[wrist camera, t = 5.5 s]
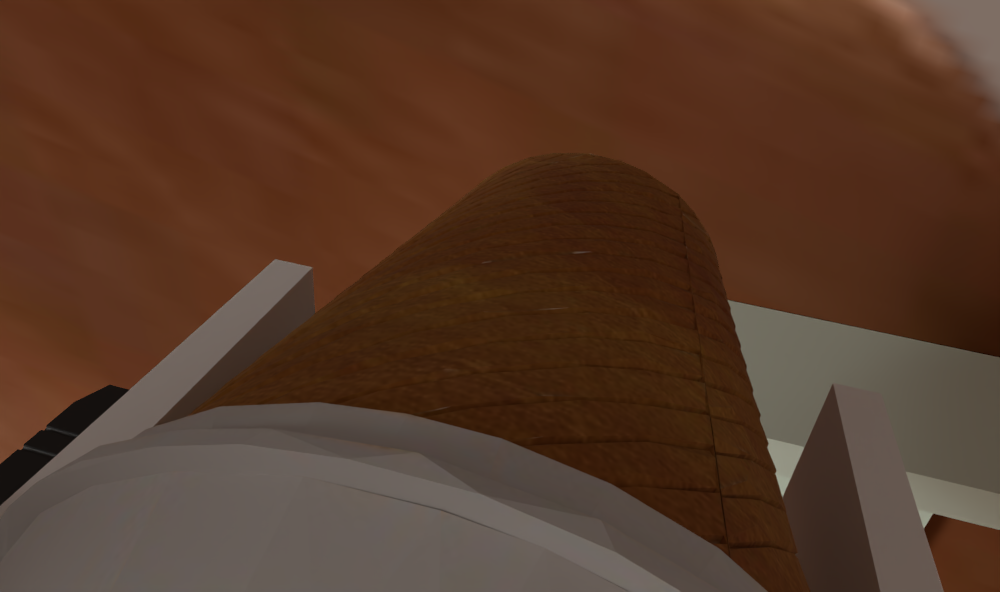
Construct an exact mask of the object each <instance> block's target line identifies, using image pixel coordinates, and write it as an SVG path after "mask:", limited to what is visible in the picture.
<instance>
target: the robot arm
mask: <svg viewBox="0 0 1000 592" xmlns="http://www.w3.org/2000/svg"><path fill="white" fill-rule="evenodd" d="M314 314H315V305H314V287H313V269H312V267H308V266H303V265H299V264H294V263H290V262H285V261H281V260H276V259H275V260H274V261H273V262H272V263H271V264H269V265H268V266H267V267H266V268H265V269H264V270H263V271H262V272H261V273H259V274H258V275H257V276H256V277H255V278H254V279H253V280H252V281H250V282H249V283H248V284H247V285H246V286H245V287H244V288H243V289H242V290H240V291H239V292H238V293H237V294H236V295H235V296H234V297H233V298H232V299H230V300H229V301H228V302H227V303H226V304H225V305H224V306H223V307H221V308H220V309H219V310H218V311H217V312H216V313H215V314H214V315H213V316H211V317H210V318H209V319H208V320H207V321H206V322H205V323H204V324H202V325H201V326H200V327H199V328H198V329H197V330H196V331H195V332H194V333H192V334H191V335H190V336H189V337H188V338H187V339H186V340H185V341H184V342H182V343H181V344H180V345H179V346H178V347H177V348H176V349H175V350H173V351H172V352H171V353H170V354H169V355H168V356H167V357H166V358H165V359H163V360H162V361H161V362H160V363H159V364H158V365H157V366H156V367H155V368H153V369H152V370H151V371H150V372H149V373H148V374H147V375H146V376H144V377H143V378H142V379H141V380H140V381H139V382H138V383H137V384H136V385H134V386H133V387H132V388H131V389H130V390H128V389H124V388H120V387H116V386H112V385H108V386H106V387H104V388H102V389H100V390H98V391H96V392H94V393H92V394H90V395H88V396H86V397H84V398H82V399H80V400H78V401H76V402H74V403H73V404H71V405H70V406H69V407H68V408H67V409H66V410H64V411H63V412H62V413H61V414H60V415H58V416H57V417H56V418H55V419H54V420H52V421H51V422H50V423H49V424H48V425H47V427H46V429H45V430H44V431H43V430H40V431H39V432H38V433H37V434H36V435H35V436H33V437H32V438H31V439H30V440H29V441H27V442H26V443H25V444H24V447H23V449H22V450H17V451H15V452H14V453H13V454H12V455H11V456H9V457H8V458H7V459H6V460H5V461H3V462H2V463H1V464H0V518H1V517H2V515H3V514H4V512H5V511H6V509H7V508H8V506H9V505H11V504H12V503H13V502H14V501H15V500H16V499H18V498H19V497H20V496H21V495H22V494H23V493H25V492H26V491H27V490H28V489H29V488H30V487H32V486H33V485H34V484H35V483H36V482H38V481H39V480H41V479H43V478H44V477H46V476H48V475H50V474H51V473H53V472H55V471H57V470H58V469H60V468H62V467H64V466H65V465H67V464H69V463H70V462H72V461H74V460H76V459H77V458H79V457H81V456H83V455H84V454H86V453H88V452H90V451H91V450H93V449H95V448H96V447H98V446H100V445H105V444H110V443H115V442H120V441H125V440H130V439H132V438H134V437H135V436H137V435H138V434H140V433H141V432H142V431H144V430H145V429H148V428H152V427H155V426H158V425H161V424H165V423H168V422H171V421H174V420H178V419H181V418H184V417H187V416H188V415H189V414H190V413H191V412H193V411H194V410H195V409H196V408H197V407H199V406H200V405H201V404H202V403H204V402H205V401H206V400H208V399H209V398H210V397H212V396H213V395H214V394H215V393H216V392H218V391H219V390H220V389H221V388H222V387H223V386H224V385H225V384H226V383H227V382H228V381H230V380H231V379H233V378H234V377H235V376H237V375H238V374H239V373H241V372H242V371H243V370H245V369H246V368H247V367H249V366H250V365H251V364H253V363H254V362H255V361H256V360H257V359H258V358H259V357H260V356H261V355H263V354H264V353H265V352H267V351H268V350H269V349H271V348H272V347H273V346H274V345H276V344H277V343H278V342H280V341H281V340H282V339H284V338H285V337H286V336H287V335H288V334H289V333H291V332H292V331H293V330H295V329H296V328H298V327H299V326H300V325H302V324H303V323H304V322H306V321H307V320H308V319H309V318H311V317H312V316H313V315H314ZM783 501H784V505H785V508H786V513H787V517H788V520H789V524H790V527H791V531H792V534H793V538H794V541H795V544H796V548H797V551H798V553H797V554H795V555H796V557H797V558H798V559H799V562H800V565H801V568H802V570H803V573H804V576H805V578H806V581H807V584H808V586H809V589H810V592H943V588H942V585H941V582H940V579H939V576H938V572H937V569H936V566H935V563H934V560H933V557H932V553H931V550H930V547H929V544H928V541H927V537H926V534H925V531H924V528H923V525H922V522H921V518H920V515H919V512H918V509H917V506H916V502H915V499H914V496H913V493H912V490H911V486H910V483H909V480H908V477H907V474H906V471H905V467H904V464H903V461H902V458H901V455H900V451H899V448H898V445H897V442H896V439H895V436H894V432H893V429H892V426H891V423H890V420H889V416H888V413H887V410H886V407H885V404H884V401H883V397H882V394H881V393H876V392H872V391H867V390H863V389H858V388H854V387H849V386H845V385H840V384H836V383H833V384H832V386H831V388H830V391H829V393H828V395H827V398H826V400H825V402H824V404H823V407H822V409H821V411H820V413H819V416H818V418H817V420H816V422H815V425H814V427H813V429H812V431H811V434H810V436H809V438H808V440H807V443H806V445H805V447H804V450H803V452H802V454H801V456H800V459H799V461H798V463H797V465H796V468H795V470H794V472H793V474H792V477H791V479H790V481H789V483H788V486H787V488H786V490H785V493H784V495H783Z"/></svg>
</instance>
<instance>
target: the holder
mask: <svg viewBox="0 0 1000 592" xmlns="http://www.w3.org/2000/svg"><path fill="white" fill-rule="evenodd" d="M728 302H729V305H730V308H731V311H730V312H731V315H732V318H733V320H734V323H735V326H736V328H735V330H736V333H737V336H738V338H739V341H740V344H741V352H742V355H743V357H744V360H745V363H746V365H747V369H746V370H747V373H748V376H749V379H750V382H751V384H752V387H753V396H754V399H755V401H756V404H757V407H758V409H759V412H760V414H761V416H760V422H761V424H762V427H763V430H764V432H765V435H766V438H767V440H768V443H769V444H768V447H767V449H768V451H769V453H770V456H771V458H772V460H773V463H774V465H775V468H776V470H777V471H776V473H775V474H776V477H777V480H778V484H779V487H780V491H781V494H782V498H783V495H784V493H785V490H786V488H787V486H788V483H789V481H790V479H791V477H792V474H793V472H794V470H795V468H796V465H797V463H798V461H799V459H800V456H801V454H802V452H803V450H804V447H805V445H806V443H807V440H808V438H809V436H810V434H811V431H812V429H813V427H814V425H815V422H816V420H817V418H818V416H819V413H820V411H821V409H822V407H823V404H824V402H825V400H826V398H827V395H828V393H829V391H830V388H831V386H832V384H833V383H836V384H840V385H845V386H849V387H854V388H858V389H863V390H867V391H872V392H876V393H881V394H882V397H883V401H884V404H885V407H886V410H887V413H888V416H889V420H890V423H891V426H892V429H893V432H894V436H895V439H896V442H897V445H898V448H899V451H900V455H901V458H902V461H903V464H904V467H905V471H906V474H907V477H908V480H909V483H910V486H911V490H912V493H913V496H914V499H915V502H916V506H917V509H918V512H919V515H920V518H921V522H922V525H923V528H925V526H926V524H927V523H928V521H929V520H930V518H931V516H932V515H933V514H937V515H941V516H945V517H949V518H953V519H957V520H962V521H966V522H970V523H974V524H978V525H982V526H986V527H990V528H994V529H998V530H1000V357H995V356H990V355H985V354H981V353H976V352H971V351H967V350H962V349H957V348H952V347H948V346H943V345H938V344H933V343H929V342H924V341H919V340H914V339H910V338H905V337H900V336H895V335H891V334H886V333H881V332H876V331H872V330H867V329H862V328H858V327H853V326H848V325H843V324H839V323H834V322H829V321H824V320H820V319H815V318H810V317H805V316H801V315H796V314H791V313H786V312H782V311H777V310H772V309H768V308H763V307H758V306H753V305H749V304H744V303H739V302H734V301H730V300H728Z"/></svg>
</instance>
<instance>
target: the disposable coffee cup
mask: <svg viewBox="0 0 1000 592" xmlns="http://www.w3.org/2000/svg"><path fill="white" fill-rule="evenodd" d="M730 311H731V308H730V305H729V302H728V300H727V297H726V291H725V288H724V285H723V282H722V276H721V273H720V270H719V266H718V261H717V256H716V253H715V250H714V247H713V245H712V242H711V239H710V237H709V235H708V233H707V232H706V230H705V229H704V227H703V225H702V224H701V222H700V221H699V219H698V217H697V216H696V214H695V213H694V212H693V210H692V209H691V208H690V207H689V206H688V205H687V204H686V202H685V201H684V200H683V199H682V198H681V197H680V196H679V194H677V193H676V192H674V191H673V190H672V189H670V188H669V187H667V186H666V185H664V184H663V183H661V182H660V181H658V180H657V179H655V178H654V177H652V176H651V175H649V174H648V173H646V172H645V171H643V170H640V169H638V168H636V167H634V166H631V165H629V164H627V163H625V162H622V161H619V160H614V159H610V158H606V157H602V156H597V155H593V154H565V153H553V154H547V155H541V156H535V157H530V158H527V159H524V160H522V161H519V162H517V163H514V164H511V165H509V166H506V167H504V168H502V169H501V170H499V171H497V172H496V173H494V174H493V175H491V176H490V177H488V178H487V179H485V180H483V181H482V182H481V183H480V184H479V185H478V186H477V187H476V188H474V189H473V190H472V191H470V192H469V193H468V194H467V195H465V196H464V197H463V198H462V199H460V200H459V201H458V202H457V203H456V204H455V205H453V206H452V207H451V208H449V209H448V210H446V211H445V212H444V213H442V214H441V215H440V216H439V217H438V218H436V219H435V220H434V221H432V222H431V223H430V224H428V225H427V226H426V227H425V228H424V229H423V230H421V231H420V232H419V233H417V234H416V235H415V236H413V237H412V238H411V239H410V240H408V241H407V242H406V243H404V244H403V245H401V246H400V247H399V248H397V249H396V250H395V251H394V252H393V253H392V254H391V255H389V256H388V257H386V258H385V259H384V260H382V261H381V262H380V263H379V264H378V265H377V266H376V267H374V268H373V269H372V270H370V271H369V272H367V273H366V274H365V275H363V276H362V277H361V278H360V279H359V280H358V281H357V282H355V283H354V284H353V285H351V286H350V287H348V288H347V289H346V290H344V291H343V292H342V293H340V294H339V295H338V296H337V297H336V298H335V299H334V300H332V301H331V302H330V303H328V304H327V305H326V306H324V307H323V308H322V309H320V310H319V311H317V312H316V313H315V314H314V315H313V316H312V317H311V318H309V319H308V320H307V321H306V322H304V323H303V324H302V325H300V326H299V327H298V328H296V329H295V330H293V331H292V332H291V333H289V334H288V335H287V336H286V337H285V338H284V339H282V340H281V341H280V342H278V343H277V344H276V345H274V346H273V347H272V348H271V349H269V350H268V351H267V352H265V353H264V354H263V355H261V356H260V357H259V358H258V359H257V360H256V361H255V362H254V363H253V364H251V365H250V366H249V367H247V368H246V369H245V370H243V371H242V372H241V373H239V374H238V375H237V376H235V377H234V378H233V379H231V380H230V381H228V382H227V383H226V384H225V385H224V386H223V387H222V388H221V389H220V390H219V391H218V392H216V393H215V394H214V395H213V396H212V397H210V398H209V399H208V400H206V401H205V402H204V403H202V404H201V405H200V406H199V407H197V408H196V409H195V410H194V411H193V412H191V413H190V414H189V415H188V416H187V417H184V418H181V419H178V420H174V421H171V422H168V423H165V424H161V425H158V426H155V427H152V428H148V429H145V430H144V431H142V432H141V433H140V434H138V435H137V436H135V437H134V438H132V439H130V440H125V441H120V442H115V443H110V444H105V445H100V446H98V447H96V448H95V449H93V450H91V451H90V452H88V453H86V454H84V455H83V456H81V457H79V458H77V459H76V460H74V461H72V462H70V463H69V464H67V465H65V466H64V467H62V468H60V469H58V470H57V471H55V472H53V473H51V474H50V475H48V476H46V477H44V478H43V479H41V480H39V481H38V482H36V483H35V484H34V485H33V486H32V487H30V488H29V489H28V490H27V491H26V492H25V493H23V494H22V495H21V496H20V497H19V498H18V499H16V500H15V501H14V502H13V503H12V504H11V505H9V506H8V508H7V509H6V511H5V512H4V514H3V515H2V517H1V518H0V592H810V589H809V586H808V584H807V581H806V578H805V576H804V573H803V570H802V568H801V565H800V562H799V559H798V558H797V557H796V555H795V554H797V553H798V551H797V548H796V544H795V541H794V538H793V534H792V531H791V527H790V524H789V520H788V517H787V513H786V508H785V505H784V501H783V498H782V494H781V491H780V487H779V484H778V480H777V477H776V474H775V473H776V471H777V470H776V468H775V465H774V463H773V460H772V458H771V456H770V453H769V451H768V449H767V447H768V444H769V443H768V440H767V438H766V435H765V432H764V430H763V427H762V424H761V422H760V416H761V414H760V412H759V409H758V407H757V404H756V401H755V399H754V396H753V387H752V384H751V382H750V379H749V376H748V373H747V370H746V369H747V365H746V363H745V360H744V357H743V355H742V352H741V344H740V341H739V338H738V336H737V333H736V330H735V328H736V326H735V323H734V320H733V318H732V315H731V312H730Z"/></svg>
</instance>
